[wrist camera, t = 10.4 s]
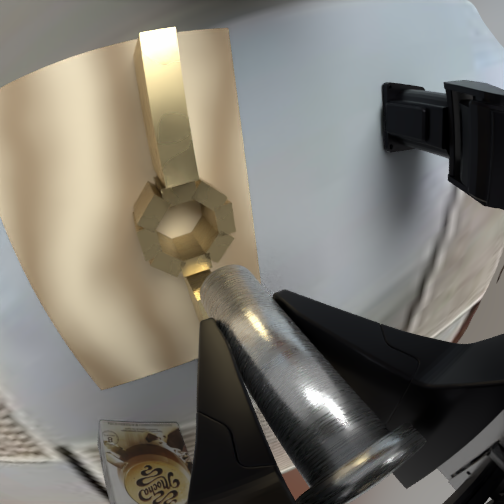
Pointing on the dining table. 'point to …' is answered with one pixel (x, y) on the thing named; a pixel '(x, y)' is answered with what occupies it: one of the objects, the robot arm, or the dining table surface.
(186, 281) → the loose leaf
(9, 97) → the mount board
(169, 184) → the hinge base
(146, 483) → the coffee box
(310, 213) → the dining table surface
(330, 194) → the dining table surface
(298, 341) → the pin
